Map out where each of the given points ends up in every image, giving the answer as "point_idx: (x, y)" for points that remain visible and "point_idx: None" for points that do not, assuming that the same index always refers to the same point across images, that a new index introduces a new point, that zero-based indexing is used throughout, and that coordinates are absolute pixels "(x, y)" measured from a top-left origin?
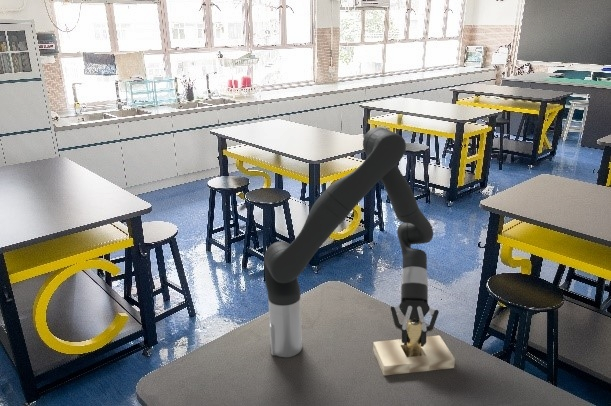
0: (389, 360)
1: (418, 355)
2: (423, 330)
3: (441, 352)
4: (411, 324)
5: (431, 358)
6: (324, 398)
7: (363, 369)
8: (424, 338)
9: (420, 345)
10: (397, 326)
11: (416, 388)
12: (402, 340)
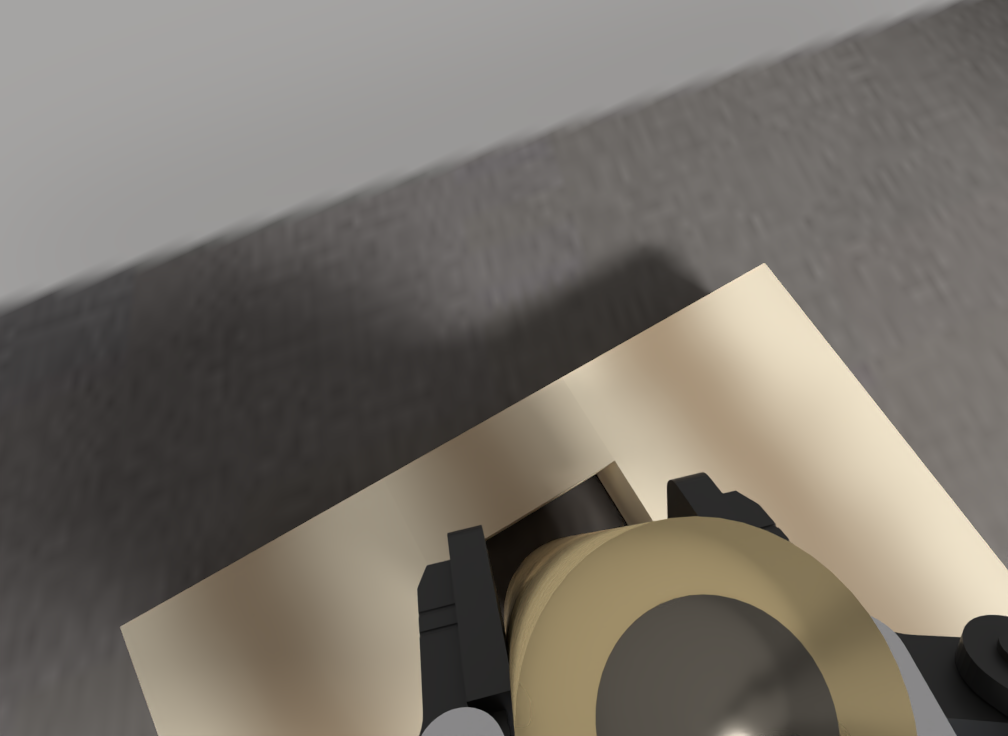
0: (751, 355)
1: (512, 577)
2: (476, 722)
3: (268, 698)
4: (765, 599)
5: (370, 536)
6: (965, 12)
7: (891, 325)
8: (447, 621)
9: (505, 630)
10: (996, 624)
11: (466, 265)
12: (746, 502)
